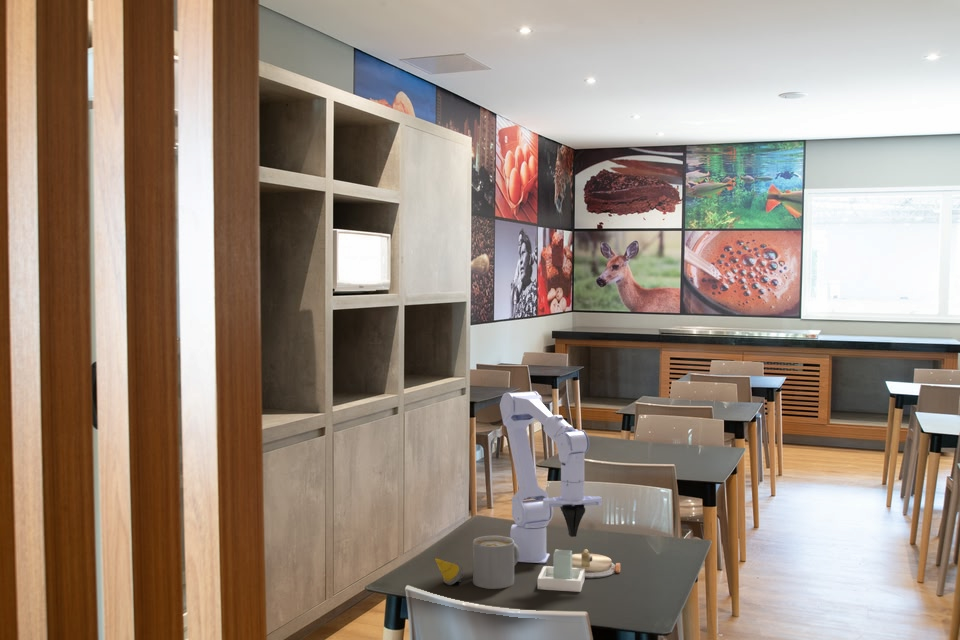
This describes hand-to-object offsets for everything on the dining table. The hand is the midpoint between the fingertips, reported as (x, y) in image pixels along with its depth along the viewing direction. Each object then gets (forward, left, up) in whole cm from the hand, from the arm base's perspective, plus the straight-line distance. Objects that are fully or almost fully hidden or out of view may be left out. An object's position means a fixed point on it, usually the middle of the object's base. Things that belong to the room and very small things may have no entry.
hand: (572, 535), depth 214 cm
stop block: (-2, -6, -10) cm, 11 cm away
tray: (-2, -5, -10) cm, 12 cm away
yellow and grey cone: (-28, -11, -11) cm, 32 cm away
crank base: (+3, +7, -10) cm, 13 cm away
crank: (+3, +7, -9) cm, 12 cm away
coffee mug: (-17, -6, -11) cm, 21 cm away
